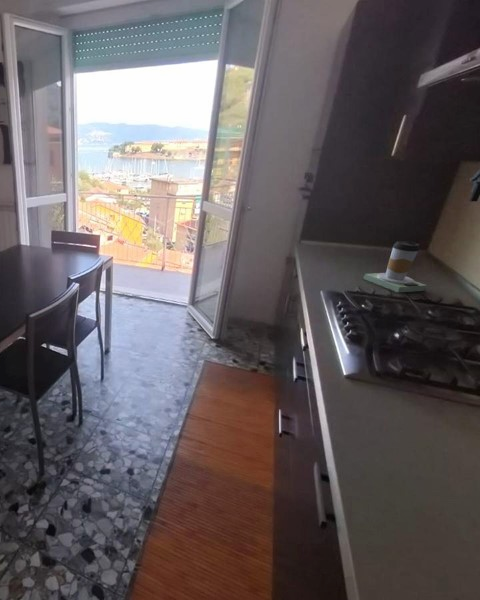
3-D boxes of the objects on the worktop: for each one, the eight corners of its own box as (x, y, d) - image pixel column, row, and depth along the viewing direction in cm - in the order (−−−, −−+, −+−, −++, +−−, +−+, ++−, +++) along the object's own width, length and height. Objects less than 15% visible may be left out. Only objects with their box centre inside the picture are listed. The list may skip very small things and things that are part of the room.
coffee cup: (404, 276, 153) (418, 242, 147) (409, 282, 146) (423, 247, 140) (380, 273, 157) (392, 239, 151) (383, 278, 150) (396, 244, 144)
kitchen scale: (424, 290, 147) (427, 283, 145) (397, 292, 145) (400, 285, 144) (388, 277, 161) (391, 270, 160) (363, 278, 159) (365, 272, 158)
